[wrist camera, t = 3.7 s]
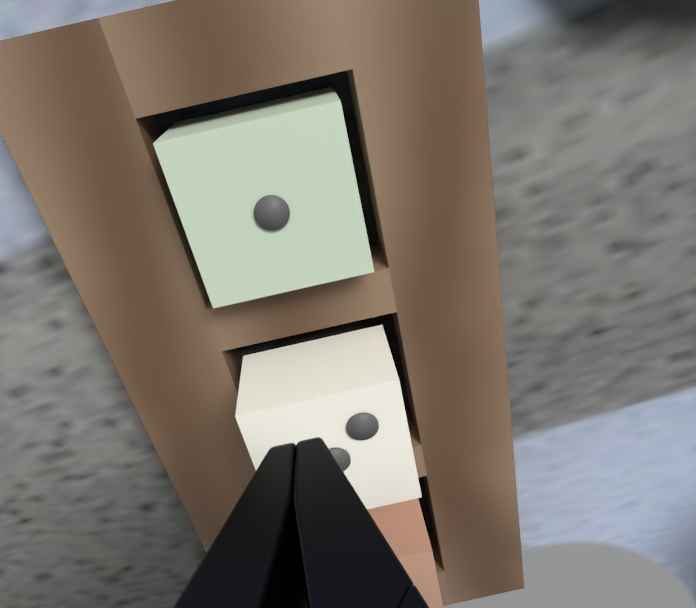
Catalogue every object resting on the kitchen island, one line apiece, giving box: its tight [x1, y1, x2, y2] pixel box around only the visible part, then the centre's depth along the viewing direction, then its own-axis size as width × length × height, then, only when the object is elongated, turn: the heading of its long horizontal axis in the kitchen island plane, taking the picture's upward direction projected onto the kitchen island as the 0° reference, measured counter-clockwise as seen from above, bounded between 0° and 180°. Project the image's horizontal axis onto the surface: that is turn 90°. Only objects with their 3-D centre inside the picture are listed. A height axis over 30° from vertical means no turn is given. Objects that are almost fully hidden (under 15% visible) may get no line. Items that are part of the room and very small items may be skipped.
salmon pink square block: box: [367, 498, 443, 608], centre depth 20 cm, size 4×4×3 cm
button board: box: [0, 0, 524, 606], centre depth 19 cm, size 12×24×2 cm, turn 11°
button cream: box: [235, 325, 422, 509], centre depth 17 cm, size 4×4×3 cm
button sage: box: [153, 87, 374, 308], centre depth 15 cm, size 4×4×3 cm
